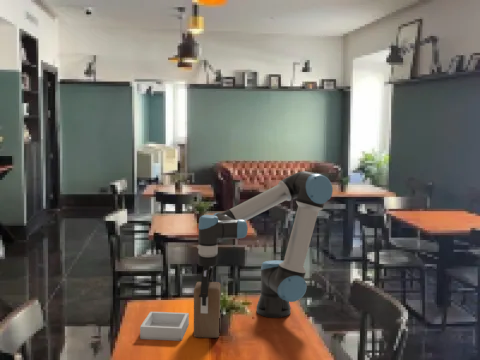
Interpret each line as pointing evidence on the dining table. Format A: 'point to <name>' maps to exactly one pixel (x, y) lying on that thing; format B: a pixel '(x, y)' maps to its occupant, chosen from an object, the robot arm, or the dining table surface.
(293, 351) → the dining table surface
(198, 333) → the block
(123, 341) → the dining table surface
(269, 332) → the dining table surface
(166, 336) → the tray
